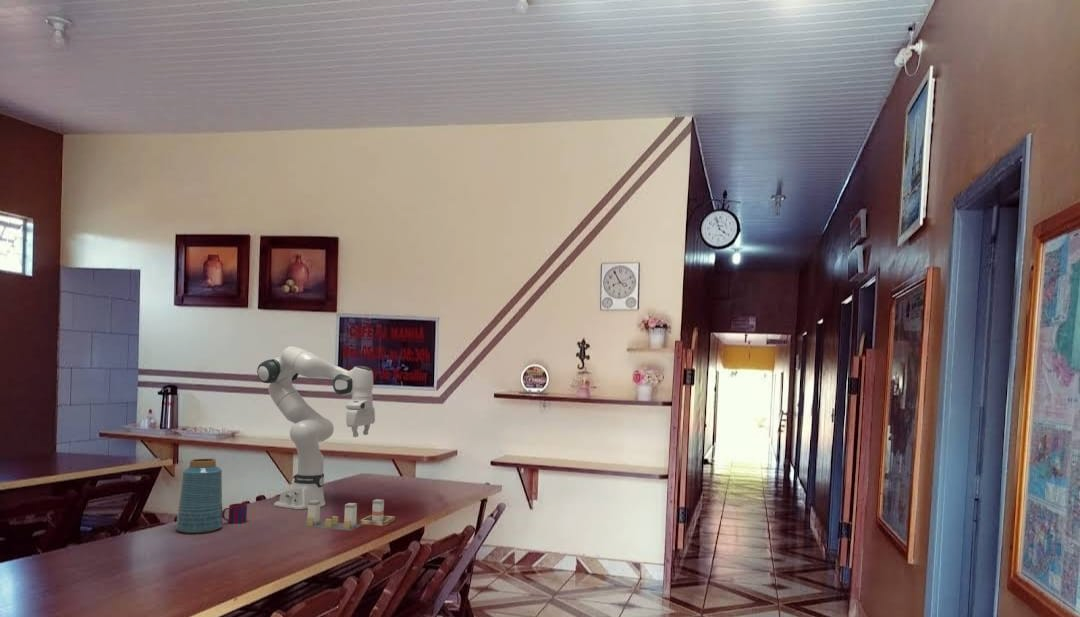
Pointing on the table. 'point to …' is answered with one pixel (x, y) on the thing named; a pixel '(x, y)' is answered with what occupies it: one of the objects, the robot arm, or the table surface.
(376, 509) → the fuse marked
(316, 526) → the fuse board
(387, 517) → the tray
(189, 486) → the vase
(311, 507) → the block
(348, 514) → the fuse right
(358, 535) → the table surface
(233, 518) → the mug
